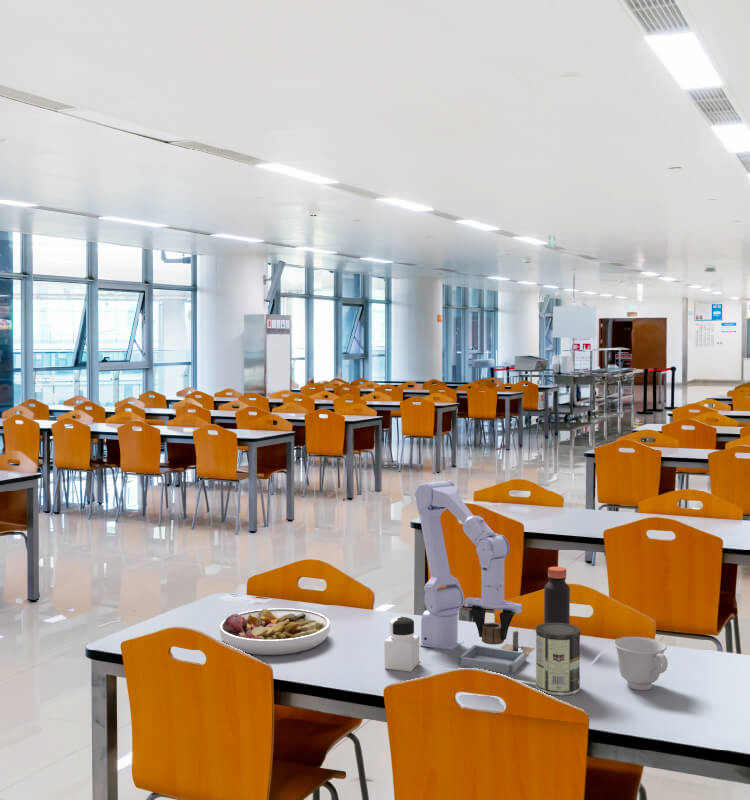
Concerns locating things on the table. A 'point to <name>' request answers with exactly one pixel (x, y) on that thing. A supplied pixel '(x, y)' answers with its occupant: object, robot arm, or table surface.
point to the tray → (492, 659)
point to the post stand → (515, 645)
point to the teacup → (640, 660)
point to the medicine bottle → (401, 645)
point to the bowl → (275, 631)
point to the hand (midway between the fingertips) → (492, 637)
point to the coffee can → (558, 658)
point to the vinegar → (557, 597)
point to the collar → (491, 633)
